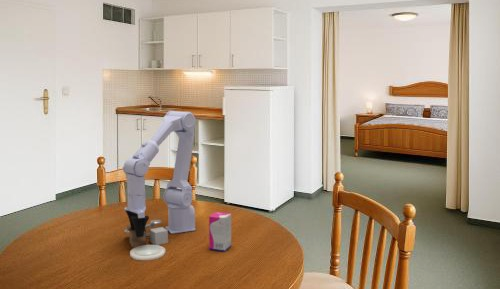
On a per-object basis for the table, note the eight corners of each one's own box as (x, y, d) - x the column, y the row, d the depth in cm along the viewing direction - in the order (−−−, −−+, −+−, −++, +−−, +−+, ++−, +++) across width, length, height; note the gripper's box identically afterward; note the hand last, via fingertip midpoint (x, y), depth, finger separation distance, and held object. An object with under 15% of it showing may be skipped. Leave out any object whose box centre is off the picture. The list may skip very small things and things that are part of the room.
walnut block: (142, 241, 156) (142, 229, 156) (146, 245, 152) (145, 232, 152) (129, 243, 155) (129, 230, 154) (132, 247, 151) (132, 234, 150)
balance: (160, 232, 166) (159, 219, 165) (162, 235, 162) (162, 222, 162) (123, 237, 160) (123, 223, 160) (126, 240, 157) (125, 227, 156)
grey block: (162, 239, 159) (161, 227, 158) (167, 243, 155) (167, 230, 155) (150, 241, 156) (149, 229, 156) (155, 245, 153) (155, 232, 152)
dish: (160, 245, 152) (160, 242, 152) (169, 257, 143) (169, 253, 142) (126, 250, 148) (126, 247, 147) (134, 262, 138) (133, 259, 138)
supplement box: (231, 246, 152) (231, 213, 151) (225, 252, 147) (224, 218, 145) (215, 244, 154) (215, 211, 153) (208, 250, 149) (208, 216, 147)
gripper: (120, 190, 156) (121, 228, 158) (128, 200, 143) (129, 241, 145) (140, 188, 159) (141, 225, 161) (150, 197, 146) (151, 238, 148)
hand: (137, 233), depth 153 cm, fingers open, 7 cm apart
